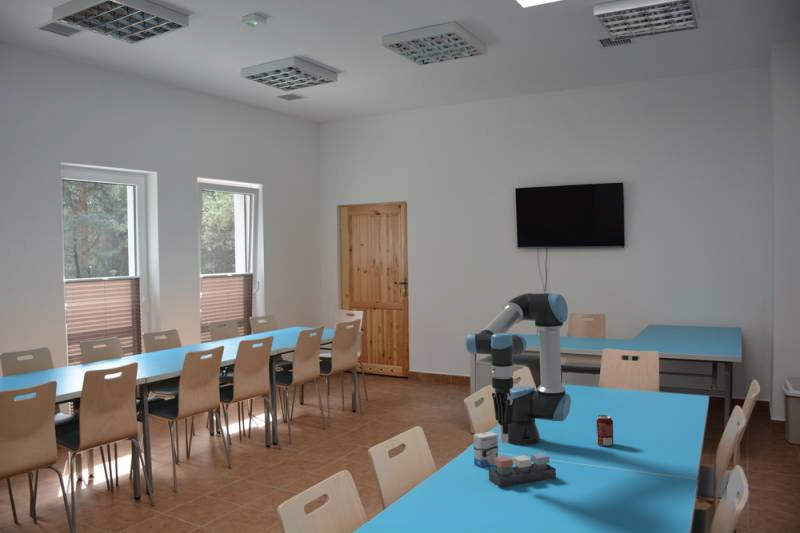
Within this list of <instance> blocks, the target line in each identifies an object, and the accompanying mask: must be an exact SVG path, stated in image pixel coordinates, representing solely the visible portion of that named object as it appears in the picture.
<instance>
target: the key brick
mask: <svg viewBox="0 0 800 533" xmlns="http://www.w3.org/2000/svg"><path fill="white" fill-rule="evenodd" d="M494 461H495V466H496V468H497V473H499V474H500V475H501V476H504V475H510V467H514V464H513V458H510V456H507V455H502V456H498V457H494Z"/></svg>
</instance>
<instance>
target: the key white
mask: <svg viewBox="0 0 800 533" xmlns="http://www.w3.org/2000/svg"><path fill="white" fill-rule="evenodd" d="M512 460H513V465H514V466H515V467H516V471H517V472H519V473H523V472H529V466H531V464H532V461H531V457H528V456H527V455H524V454H523V455H518V456H512Z"/></svg>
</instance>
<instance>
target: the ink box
mask: <svg viewBox="0 0 800 533" xmlns="http://www.w3.org/2000/svg"><path fill="white" fill-rule="evenodd" d="M498 435H499V434H497V433H494V432H493V431H486V432H480V433H475V434H473V460H474V461H473V463H474V465H475V466H477V467H480V468H484V467H485V466H486V467H489V466H494V464H495V461H494V457H499V436H498Z"/></svg>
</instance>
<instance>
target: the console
mask: <svg viewBox="0 0 800 533" xmlns="http://www.w3.org/2000/svg"><path fill="white" fill-rule="evenodd" d="M554 479H557V469H556V468H555V467H553V466H551V465H549V463H547V469H542V470H537V469H535V468H534V463H531V466H529V472H523V473H519V472H517V471H516V466H513V467H510V475H504V476H501V475H500V474H499V473H497V469H496V468H495V469H491V470H488V481H489V480H490V482H491V483H492V482H493V483H494V484H493V485H495V486H496V485H497V486H498V488H499V489H501V488H500V487H502V488H507V487H511V486H512V487H513V486H519V485H520V486H521V485H526V484H530V483H532V484H533V483H536V482H537V483H538V482H543V481H550V480H554ZM497 486H496V487H497Z"/></svg>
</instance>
